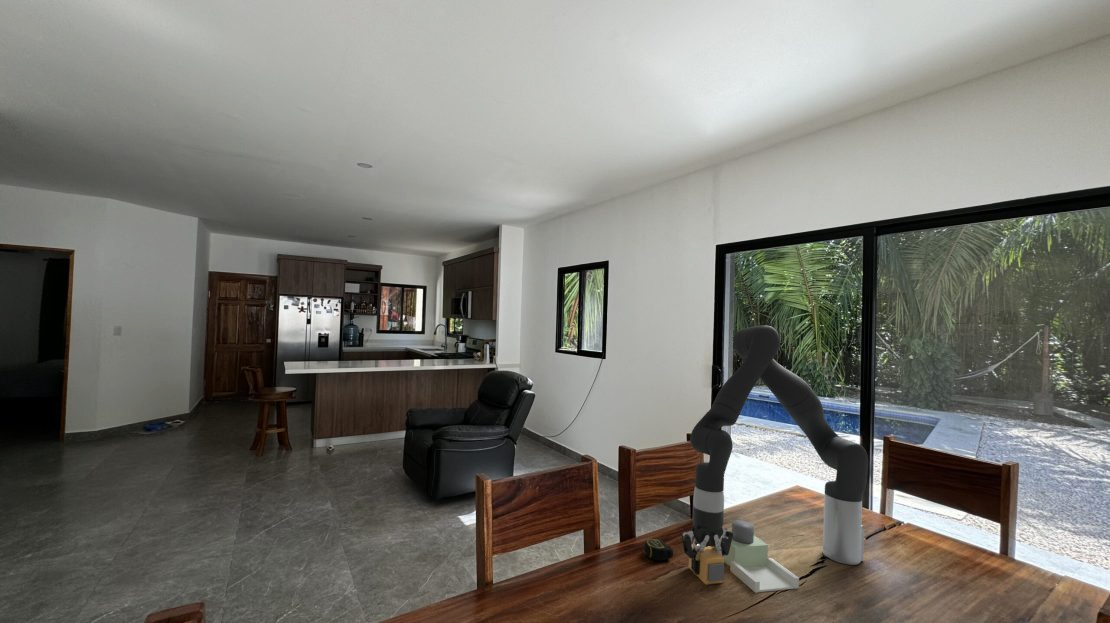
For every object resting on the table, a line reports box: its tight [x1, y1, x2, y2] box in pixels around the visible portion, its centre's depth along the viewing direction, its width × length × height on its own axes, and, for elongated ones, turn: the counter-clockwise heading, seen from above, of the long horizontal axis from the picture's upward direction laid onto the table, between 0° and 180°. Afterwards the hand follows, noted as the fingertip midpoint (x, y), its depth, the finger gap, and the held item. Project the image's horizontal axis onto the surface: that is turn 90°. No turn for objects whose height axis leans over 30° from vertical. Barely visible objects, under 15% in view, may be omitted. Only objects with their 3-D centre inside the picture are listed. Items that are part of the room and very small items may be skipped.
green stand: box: [719, 519, 800, 594], centre depth 123 cm, size 12×17×10 cm
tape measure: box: [643, 538, 674, 561], centre depth 128 cm, size 7×7×4 cm
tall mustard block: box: [688, 543, 725, 585], centre depth 120 cm, size 5×9×6 cm, turn 14°
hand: (705, 571), depth 120 cm, fingers closed on tall mustard block, 5 cm apart
